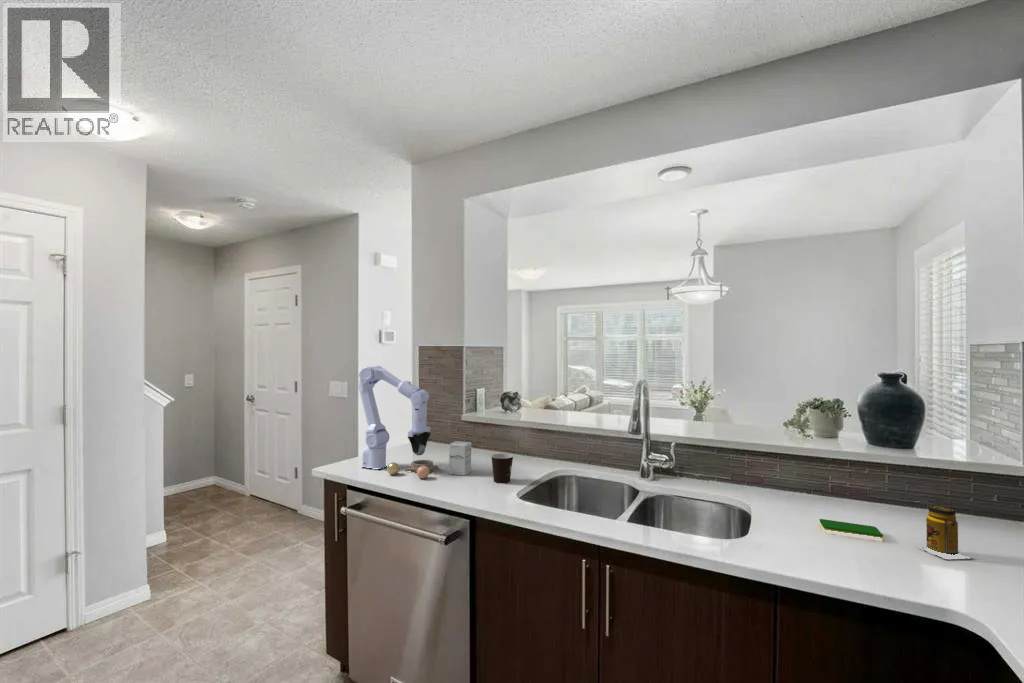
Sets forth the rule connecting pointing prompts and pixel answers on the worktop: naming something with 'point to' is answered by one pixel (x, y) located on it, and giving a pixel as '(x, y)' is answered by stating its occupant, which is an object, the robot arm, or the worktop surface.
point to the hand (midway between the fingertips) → (419, 451)
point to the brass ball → (393, 468)
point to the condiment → (942, 530)
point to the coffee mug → (502, 467)
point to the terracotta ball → (422, 472)
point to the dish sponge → (850, 528)
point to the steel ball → (421, 449)
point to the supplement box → (460, 458)
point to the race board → (418, 463)
